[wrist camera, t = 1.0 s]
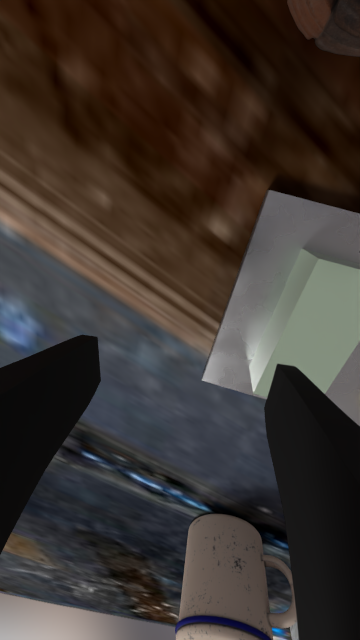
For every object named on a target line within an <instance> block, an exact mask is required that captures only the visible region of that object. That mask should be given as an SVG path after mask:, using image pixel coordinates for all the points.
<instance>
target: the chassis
mask: <svg viewBox="0 0 360 640" xmlns="http://www.w3.org/2000/svg"><path fill="white" fill-rule="evenodd" d="M301 249H306V250H310V251H313V252H317V253H321V254H324V255H328V256H332V257H335V258H339V259H343V260H346V261H350V262H354V263H358V264H360V214H359V213H355V212H351V211H348V210H344V209H340V208H336V207H332V206H329V205H325V204H321V203H317V202H313V201H310V200H306V199H302V198H298V197H294V196H291V195H287V194H283V193H279V192H275V191H272V190H267V191H266V194H265V197H264V199H263V202H262V205H261V208H260V211H259V214H258V217H257V219H256V222H255V225H254V228H253V231H252V234H251V237H250V239H249V242H248V245H247V248H246V251H245V254H244V257H243V259H242V262H241V265H240V268H239V271H238V274H237V277H236V279H235V282H234V285H233V288H232V291H231V294H230V297H229V299H228V302H227V305H226V308H225V311H224V314H223V317H222V319H221V322H220V325H219V328H218V331H217V334H216V337H215V339H214V342H213V345H212V348H211V351H210V354H209V357H208V359H207V362H206V365H205V368H204V371H203V375H202V381H206V382H209V383H212V384H216V385H219V386H223V387H226V388H229V389H233V390H236V391H240V392H243V393H246V394H250V395H253V396H256V397H260V398H263V399H267V397H264V396H260V395H257V394H254V393H253V389H252V383H251V376H250V370H249V365H250V363H251V361H252V359H253V357H254V354H255V352H256V350H257V348H258V345H259V343H260V341H261V339H262V336H263V334H264V332H265V330H266V328H267V325H268V323H269V321H270V319H271V316H272V314H273V312H274V310H275V307H276V305H277V303H278V301H279V299H280V296H281V294H282V292H283V290H284V287H285V285H286V283H287V281H288V278H289V276H290V274H291V272H292V269H293V267H294V265H295V263H296V261H297V258H298V256H299V254H300V252H301ZM325 395H326V396H327V397H328V398H329V399H330V400H331V401H332V402H334V403H335V404H336V405H337V406H338V407H339V408H340V409H341V410H342V411H343V412H344V413H345V414H346V415H348V416H349V417H350V418H351V419H352V420H353V421H354V422H355V423H357V424H358V425H359V426H360V341H359V343H358V344H357V346H356V347H355V349H354V350H353V352H352V353H351V355H350V356H349V358H348V359H347V361H346V362H345V364H344V365H343V367H342V369H341V370H340V372H339V373H338V375H337V376H336V378H335V379H334V381H333V382H332V384H331V385H330V387H329V388H328V390H327V391H326V393H325Z"/></svg>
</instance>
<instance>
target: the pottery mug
mask: <svg viewBox="0 0 360 640" xmlns="http://www.w3.org/2000/svg"><path fill="white" fill-rule="evenodd" d="M287 3H288V7H289V10H290V12H291V15H292V17H293V19H294V21H295V23H296V25H297V27H298V29H299V30H300V31H301V32H302V33H303V34H304V36H305V37H306V39H308V40H309V39H311V38H314V39H315V44H316V46H317V47H318V48H319V49H321V50H323V51H328V52H330V53H335V54H341V55H347V56H358V57H360V0H287Z"/></svg>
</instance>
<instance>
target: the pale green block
mask: <svg viewBox="0 0 360 640" xmlns="http://www.w3.org/2000/svg"><path fill="white" fill-rule="evenodd" d="M359 341H360V264H358V263H354V262H350V261H346V260H343V259H339V258H335V257H332V256H328V255H324V254H321V253H317V252H313V251H310V250H306V249H301V252H300V254H299V256H298V258H297V261H296V263H295V265H294V267H293V269H292V272H291V274H290V276H289V278H288V281H287V283H286V285H285V287H284V290H283V292H282V294H281V296H280V299H279V301H278V303H277V305H276V307H275V310H274V312H273V314H272V316H271V319H270V321H269V323H268V325H267V328H266V330H265V332H264V334H263V336H262V339H261V341H260V343H259V345H258V348H257V350H256V352H255V354H254V357H253V359H252V361H251V363H250V365H249V370H250V376H251V383H252V389H253V393H254V394H257V395H260V396H264V397H268V393H269V390H270V387H271V383H272V380H273V376H274V373H275V369H276V366H277V364H284V365H290V366H296V367H297V368H298V369H299V370H300V371H301V372H302V373H303V374H305V375H306V376H307V377H308V378H309V379H310V380H311V381H312V382H313V383H314V384H315V385H316V386H317V387H318V388H319V389H320V390H321V391H322V392H323V393H324V394H325V393H326V391H327V390H328V388H329V387H330V385H331V384H332V382H333V381H334V379H335V378H336V376H337V375H338V373H339V372H340V370H341V369H342V367H343V365H344V364H345V362H346V361H347V359H348V358H349V356H350V355H351V353H352V352H353V350H354V349H355V347H356V346H357V344H358V343H359Z"/></svg>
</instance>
